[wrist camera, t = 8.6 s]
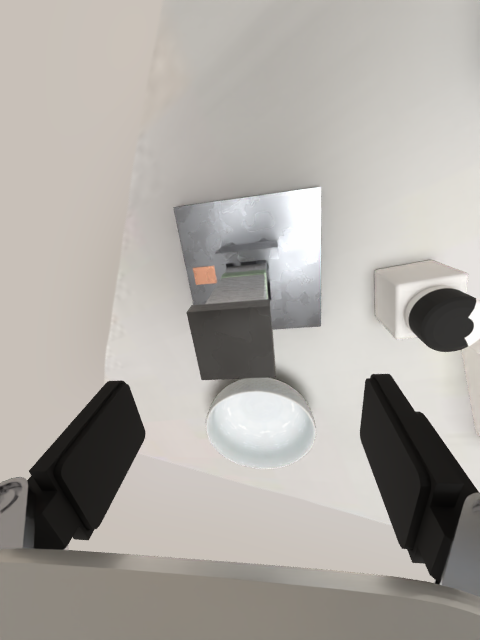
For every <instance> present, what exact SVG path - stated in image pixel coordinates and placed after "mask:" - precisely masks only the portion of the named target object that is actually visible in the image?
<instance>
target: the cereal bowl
mask: <svg viewBox="0 0 480 640" xmlns="http://www.w3.org/2000/svg"><path fill="white" fill-rule="evenodd" d="M206 433H207V436H208V439H209V441H210V443H211V444H212V446H213V447H214V448H215V449H216V450H217V451H218V452H219V453H220V454H221V455H222V456H224V457H225V458H227V459H228V460H230V461H232V462H234V463H236V464H239V465H242V466H245V467H250V468H257V469H274V468H280V467H284V466H287V465H290V464H292V463H295V462H296V461H298V460H300V459H301V458H302V457H304V456H305V455H306V454H307V453H308V451H309V450H310V449H311V447H312V446H313V443H314V441H315V437H316V426H315V421H314V418H313V415H312V412H311V410H310V407H309V406H308V404H307V402H306V400H305V399H304V398H303V396H301V395H300V393H299V392H297V391H296V390H295V389H293V388H292V387H291V386H289V385H288V384H286V383H284V382H281V381H279V380H276V379H272V378H245V379H241V380H238V381H236V382H233V383H232V384H230V385H228V386H227V387H225V388H224V389H223V390H222V391H221V392H220V393H219V394H218V395H217V396H216V398H215V399H214V401H213V403H212V404H211V407H210V409H209V412H208V415H207V419H206Z"/></svg>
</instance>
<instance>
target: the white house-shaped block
mask: <svg viewBox="0 0 480 640" xmlns="http://www.w3.org/2000/svg"><path fill="white" fill-rule="evenodd" d="M461 352H462V357H463V363H464V369H465V374H466V380H467V386H468V391H469V397H470V403H471V408H472V414H473V420H474V425H475V431H476V433H477V434H478V435H479V436H480V339H479V340H477V341H476V342H475V343H474V344H472V345H470V346H468V347H466V348H464V349H461Z"/></svg>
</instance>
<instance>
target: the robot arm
mask: <svg viewBox="0 0 480 640" xmlns="http://www.w3.org/2000/svg"><path fill="white" fill-rule="evenodd" d="M360 438H361V442H362V445H363V447H364V450H365V453H366V456H367V458H368V461H369V464H370V466H371V469H372V472H373V475H374V477H375V480H376V483H377V485H378V488H379V491H380V493H381V496H382V499H383V502H384V504H385V507H386V510H387V512H388V515H389V518H390V521H391V523H392V526H393V529H394V531H395V534H396V537H397V540H398V542H399V544H400V546H401V547H402V549H407V550H408V552H409V555H410V557H411V560H412V562H413V563H425V564H426V567H427V569H428V571H429V574H430V575H431V576H432V577H433V578H434V579H435V580H434V583H430V582H426V581H419V580H413V579H406V578H399V577H393V576H383V575H374V574H364V573H354V572H344V571H334V570H323V569H311V568H299V567H286V566H274V565H262V564H250V563H237V562H224V561H211V560H198V559H185V558H172V557H158V556H145V555H130V554H116V553H101V552H86V551H73V550H68V544H69V542H70V540H71V538H72V537H73V538H74V539H79V540H89V538H90V536H91V535H92V533H93V531H94V529H97V528H98V527H99V525H100V524H101V522H102V520H103V518H104V516H105V514H106V512H107V510H108V509H109V507H110V505H111V503H112V501H113V499H114V497H115V495H116V493H117V491H118V489H119V487H120V485H121V484H122V481H123V480H124V478H125V476H126V474H127V471H128V470H129V468H130V466H131V464H132V462H133V460H134V458H135V457H136V455H137V453H138V451H139V449H140V447H141V445H142V443H143V441H144V439H145V429H144V426H143V424H142V421H141V418H140V415H139V412H138V410H137V407H136V404H135V401H134V398H133V396H132V393H131V390H130V387H129V385H128V384H126V383H125V382H124V381H108V382H107V383H106V384H105V385H104V386H103V387H102V388H101V390H100V391H99V392H98V393H97V394H96V395H95V396H94V398H93V399H92V400H91V401H90V402H89V403H88V404H87V406H86V407H85V408H84V409H83V410H82V411H81V412H80V413H79V415H78V416H77V417H76V418H75V419H74V420H73V421H72V423H71V424H70V425H69V426H68V427H67V428H66V429H65V431H64V432H63V433H62V434H61V435H60V436H59V438H57V440H56V441H55V442H54V443H53V444H52V445H51V447H50V448H49V449H48V450H47V451H46V452H45V453H44V454H43V456H42V457H41V458H40V459H39V460H38V461H37V462H36V464H35V465H34V466H33V467H32V468H31V469H30V470H29V472H30V474H31V475H32V476H31V477H30V478H29V479H28V480H26V479H25V478H22V477H16V478H11V479H8V480H6V481H3V482H1V483H0V640H480V493H479V492H478V490H477V489H476V488H475V486H474V485H473V483H472V482H471V480H470V479H469V478H468V476H467V475H466V473H465V472H464V470H463V469H462V468H461V466H460V465H459V463H458V462H457V460H456V459H455V458H454V456H453V455H452V453H451V452H450V451H449V449H448V448H447V446H446V445H445V443H444V442H443V441H442V439H441V438H440V436H439V435H438V433H437V432H436V431H435V429H434V428H433V426H432V425H431V423H430V422H429V421H428V419H427V418H426V417H425V415H424V414H423V413H421V412H415V411H414V409H413V408H412V406H411V405H410V403H409V402H408V400H407V399H406V397H405V396H404V394H403V393H402V391H401V390H400V388H399V387H398V385H397V384H396V382H395V381H394V379H393V378H392V376H391V375H390V374H372V375H371V378H369V379H366V381H365V390H364V399H363V408H362V418H361V427H360Z"/></svg>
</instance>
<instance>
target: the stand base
mask: <svg viewBox="0 0 480 640" xmlns="http://www.w3.org/2000/svg"><path fill="white" fill-rule="evenodd" d="M173 208H174V213H175V217H176V222H177V227H178V232H179V237H180V241H181V246H182V251H183V256H184V261H185V266H186V270H187V275H188V280H189V285H190V290H191V295H192V299H193V304H194V305H202V304H206V302H207V300H208V299H209V297H210V295H211V294H212V292H213V291H214V289H215V287H216V286H217V284H218V283H219V281H220V279H221V276H222V275H223V273H225V271H226V270H227V268H228V267H233V266H243V265H253V264H263V263H266V274H267V286H268V298H269V299H270V306H271V318H272V329H286V328H302V327H318V326H321V187H317V188H309V189H302V190H295V191H287V192H280V193H273V194H266V195H258V196H251V197H244V198H237V199H229V200H222V201H215V202H208V203H200V204H193V205H186V206H179V207H173Z"/></svg>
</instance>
